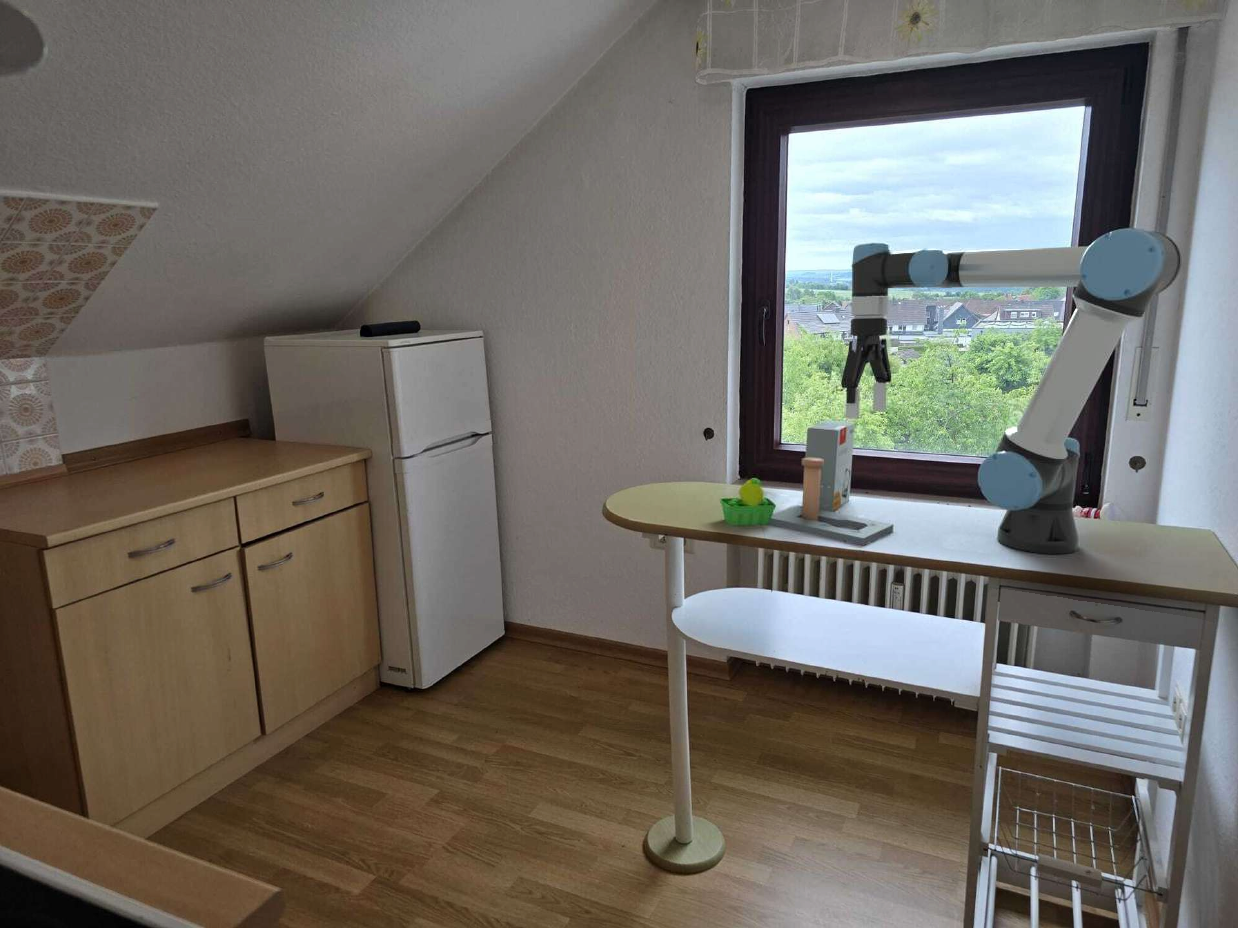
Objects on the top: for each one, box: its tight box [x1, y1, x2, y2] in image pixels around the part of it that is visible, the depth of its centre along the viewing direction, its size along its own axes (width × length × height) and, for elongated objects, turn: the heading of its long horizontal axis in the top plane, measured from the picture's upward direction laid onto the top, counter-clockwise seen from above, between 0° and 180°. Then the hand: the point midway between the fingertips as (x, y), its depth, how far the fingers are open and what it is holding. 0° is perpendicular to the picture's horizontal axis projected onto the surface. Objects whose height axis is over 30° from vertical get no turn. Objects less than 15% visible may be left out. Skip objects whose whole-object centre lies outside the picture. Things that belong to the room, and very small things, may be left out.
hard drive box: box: [801, 419, 855, 512], centre depth 204 cm, size 16×8×20 cm, turn 150°
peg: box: [801, 457, 824, 521], centre depth 189 cm, size 5×5×15 cm
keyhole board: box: [767, 504, 894, 546], centre depth 187 cm, size 24×14×2 cm, turn 47°
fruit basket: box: [719, 477, 777, 526], centre depth 190 cm, size 11×9×11 cm
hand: (866, 415), depth 185 cm, fingers open, 13 cm apart
